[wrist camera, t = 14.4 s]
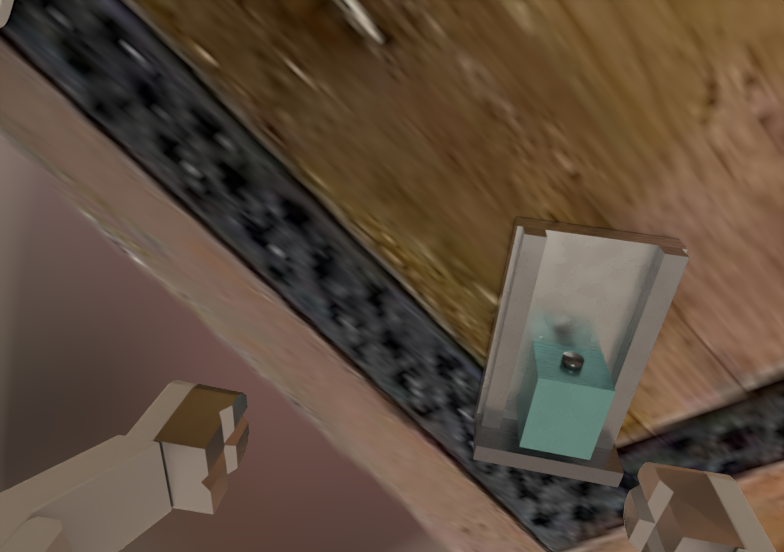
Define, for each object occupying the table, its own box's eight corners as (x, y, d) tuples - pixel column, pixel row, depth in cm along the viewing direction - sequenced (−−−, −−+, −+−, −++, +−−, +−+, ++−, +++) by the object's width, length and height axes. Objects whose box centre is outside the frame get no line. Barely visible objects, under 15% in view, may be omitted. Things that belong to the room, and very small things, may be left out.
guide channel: (474, 411, 47) (473, 459, 42) (516, 216, 38) (520, 247, 33) (602, 434, 46) (617, 487, 41) (678, 238, 37) (710, 274, 32)
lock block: (515, 404, 44) (519, 446, 39) (534, 333, 40) (540, 371, 36) (579, 415, 43) (589, 460, 39) (603, 345, 40) (618, 384, 35)
